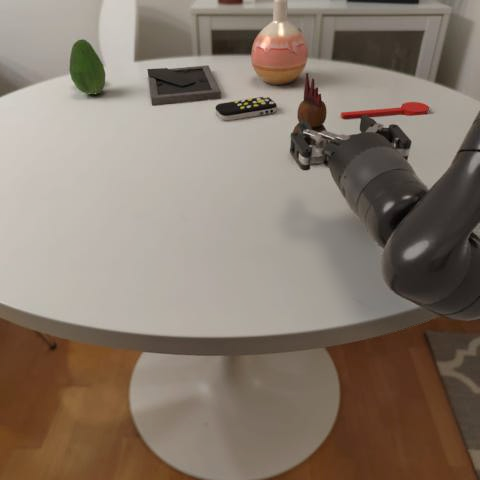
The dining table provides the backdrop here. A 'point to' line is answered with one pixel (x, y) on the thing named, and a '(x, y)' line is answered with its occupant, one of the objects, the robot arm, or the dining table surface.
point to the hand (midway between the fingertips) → (332, 124)
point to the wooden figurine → (312, 109)
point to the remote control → (245, 108)
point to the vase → (279, 49)
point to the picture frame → (182, 85)
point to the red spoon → (391, 111)
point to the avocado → (86, 68)
